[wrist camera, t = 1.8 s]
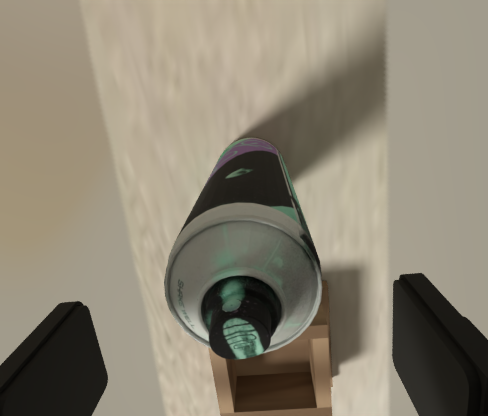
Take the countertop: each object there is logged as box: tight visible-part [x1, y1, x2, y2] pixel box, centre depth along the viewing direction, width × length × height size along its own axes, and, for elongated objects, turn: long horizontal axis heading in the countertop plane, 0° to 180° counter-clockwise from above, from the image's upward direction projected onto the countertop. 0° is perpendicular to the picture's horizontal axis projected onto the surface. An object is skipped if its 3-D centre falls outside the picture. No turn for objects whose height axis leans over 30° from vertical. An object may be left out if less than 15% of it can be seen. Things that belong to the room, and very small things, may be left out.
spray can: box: [164, 138, 322, 360], centre depth 19 cm, size 6×6×20 cm
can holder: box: [208, 281, 333, 416], centre depth 31 cm, size 11×11×5 cm
